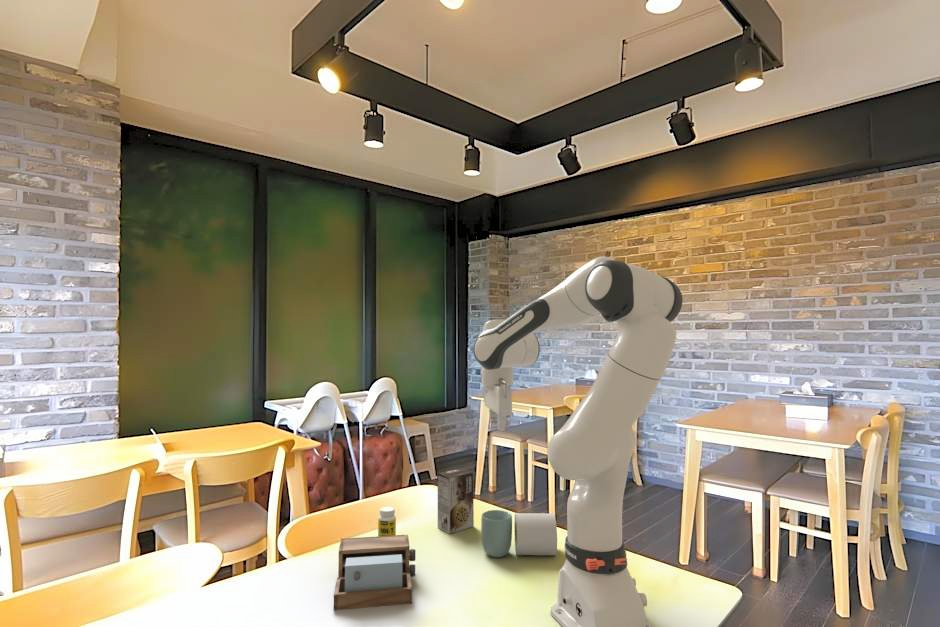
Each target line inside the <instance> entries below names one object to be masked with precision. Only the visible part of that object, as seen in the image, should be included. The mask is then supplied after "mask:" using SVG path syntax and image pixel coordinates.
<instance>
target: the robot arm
mask: <svg viewBox="0 0 940 627" xmlns="http://www.w3.org/2000/svg"><path fill="white" fill-rule="evenodd" d="M683 301H684V299H683V295H682V291H681V289H680V288H679V286H678V285H677V284H676V283H674V282H673V281H672V280H670V279H669V278H667V277H666V276H660V275H659V274H657V273H656V272H652V271H650V270H649V269H647V268H644V267H642V266H638V265H636V264H631V263H626V262H624V261H622V260H615V259H614V258H612V257H610V256H598V257H595V258H594V259H592V260H589V261H588V262H586V263H585V264H583V265H582V266H580V267H578V268H577V269H576V270H575V271H573V272H572V273H571V274H570V275H568V277H566V278H565V279H564V280H563V281H561V282H560V283H559V284H558V285H556V286H555V287H554V288H552V289H551V290H550V291H548V292H546V293H545V294H543V295H542V296H539V297H538V298H537V299H535V300H533V301H531V302H530V303H528V304H526V305H525V306H523V307H522V308H521V309H519V310H517V311H516V312H515V313H514V314H512V315H511V316H509V317H508V318H494V319H490V320H488V321H487V322H485V323H484V325H483V328H482V331H481V332H480V333H479V334H478V337H477V338H476V340H475V342H474V345H473V353H474V354H473V355H474V356H475V359H476V361H477V363H478V364H479V365H481V374H480V381H481V384H482V393H483V394H482V396H483V403H484V406H485V407H486V408H488V413H489V422H490V424H491V425H492V426H496V425H497V428H496V429H497V430H498V431H500V432H505V430H506V422H507V416H512V412H513V398H512V389H511V387H510V385H512V384H514V368H521V367H522V368H523V367H524V368H525V367H529V366H532V365H534V364H535V363H536V362H537V361H538V359H539V357H540V352H541V348H540V341H539V340H538V338H537V336H536V335H535V334H536V333H538V332H542V331H548V330H550V331H551V330H559V329H570V328H577V327H579V326H581V325H583V324H586V323H587V322H589V321H591V320H592V319H594V318H595V317H596V316H598V315H599V314H601V316H602V317H603V319H604V320H605V321H606V322H609V323H610V322H611V323H612V322H616V326H617V334H616V337H615V339H614V341H613V344H612V345H611V348H610V349H609V350H608V353H607V355H606V357H605V358H604V359H605V360H604V361H603V363H602V366H601V368H600V370H599V372H598V373H597V375H596V377H595V379H594V381H593V384H592V385H591V387H590V388H589V390H588V391H587V393H586V394H585V395H584V397H583V398H582V400H581V401H580V402H579V404H578V405H577V406H576V407H575V409H574V411H573V412H572V413H571V415H570V416H569V418H568V419H567V420H566V422H565V423H564V424H563V426H562V427H560V429H559V430H558V431H557V432H556V433H554V435H552V436H551V438H550V440H549V442H548V443H547V444H548V445H547V458H548V462H549V464H550V466H551V468H552V469H553V471H554V472H555V473H556V474H557V475H558V476H559V477H561V478H563V479H564V480H565V479H566V480H569V481H574V484H573V487H572V489H571V492H570V493H569V495H568V497H567V498H568V499H567V503H566V510H567V511H566V513H567V514H566V515H567V517H566V519H567V520H566V522H567V523H566V524H567V525H566V526H567V528H566V529H567V530H566V531H567V534H566V535H567V536H566V537H565V543H564V556H565V558H566V559H565V561H564V563H563V565H562V567H560V570H559V571H558V578H557V579H558V580H557V581H558V582H557V599H556V603H555V604H553V605H552V606H551V608H550V615H551V616H552V618H553V619H555V621H557V623H558V624H560V626H562V627H652V625H651V623H650V622H649V619H648V618H647V617H646V616H647V615H646V611H645V608H646V607H647V605H648V600H647V594H645V593H643V592H638V589H637V582H636V578H634V577H632V575H631V573H630V571H629V569H628V558H627V552H626V548H625V544H624V542H623V505H624V504H623V503H624V495H625V489H626V484H627V479H628V474H629V467H630V462H631V458H632V455H633V453H634V451H635V449H636V443H637V440H636V439H637V438H636V435H635V434H636V433H635V432H634V430H633V428H632V426H633V425H634V424H635V423H636V421H637V420H638V419H639V418H640V417H641V416H642V415H643V414H644V412H645V410H646V409H647V407H648V404H649V403H650V400H651V398H652V397H653V395H654V394H655V392H656V389H657V387H658V385H659V383H660V381H661V380H662V378H663V375H664V373H665V372H666V369H667V367H668V365H669V363H670V359H671V357H672V354H673V350H674V347H675V344H676V341H677V330H676V328H675V326H674V325H673V323H672V321H673V320H675V319H676V318H677V317H678V315H679V314H680V312H681V309H682V306H683Z"/></svg>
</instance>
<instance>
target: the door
mask: <svg viewBox="0 0 940 627" xmlns="http://www.w3.org/2000/svg"><path fill="white" fill-rule="evenodd" d="M391 588H402V554H400V555H385V556H370V557H355V558H346V564H345V592H353V591H365V590H378V589H391Z"/></svg>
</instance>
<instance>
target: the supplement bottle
mask: <svg viewBox="0 0 940 627" xmlns="http://www.w3.org/2000/svg"><path fill="white" fill-rule="evenodd" d="M395 512H396V511H395V508H394V507H392V506H384V507H381V508H380V509H379V515H378V524H377V526H378V527H377V528H378V530H377V532H378V533H377V537H378V536H394V535H397V534H396V532H397V531H396V529H397V528H396V526H397V524H396V523H397V516H396V515H395Z"/></svg>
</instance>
